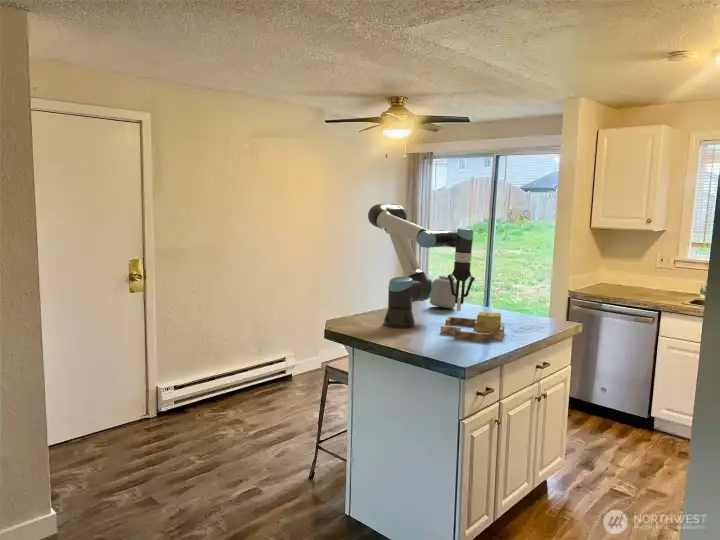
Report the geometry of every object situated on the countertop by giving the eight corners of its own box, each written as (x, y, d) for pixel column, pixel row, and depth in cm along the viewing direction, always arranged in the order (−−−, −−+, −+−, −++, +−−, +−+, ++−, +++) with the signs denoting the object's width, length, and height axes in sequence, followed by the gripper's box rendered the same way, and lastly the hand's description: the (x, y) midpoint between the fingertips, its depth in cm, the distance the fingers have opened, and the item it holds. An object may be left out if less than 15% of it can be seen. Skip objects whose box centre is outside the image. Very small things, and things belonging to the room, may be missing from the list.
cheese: (498, 338, 244) (500, 317, 243) (474, 335, 248) (476, 314, 246) (500, 333, 254) (501, 312, 253) (477, 331, 257) (478, 310, 256)
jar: (443, 304, 324) (445, 263, 321) (464, 308, 314) (466, 265, 311) (424, 308, 310) (426, 265, 307) (445, 312, 300) (447, 268, 297)
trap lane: (437, 337, 243) (438, 327, 242) (447, 323, 272) (448, 314, 272) (501, 343, 235) (501, 333, 234) (504, 328, 264) (505, 319, 263)
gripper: (447, 261, 250) (443, 310, 253) (475, 263, 246) (471, 313, 249) (449, 259, 257) (446, 307, 260) (477, 261, 253) (473, 310, 256)
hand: (458, 310), depth 255 cm, fingers closed
